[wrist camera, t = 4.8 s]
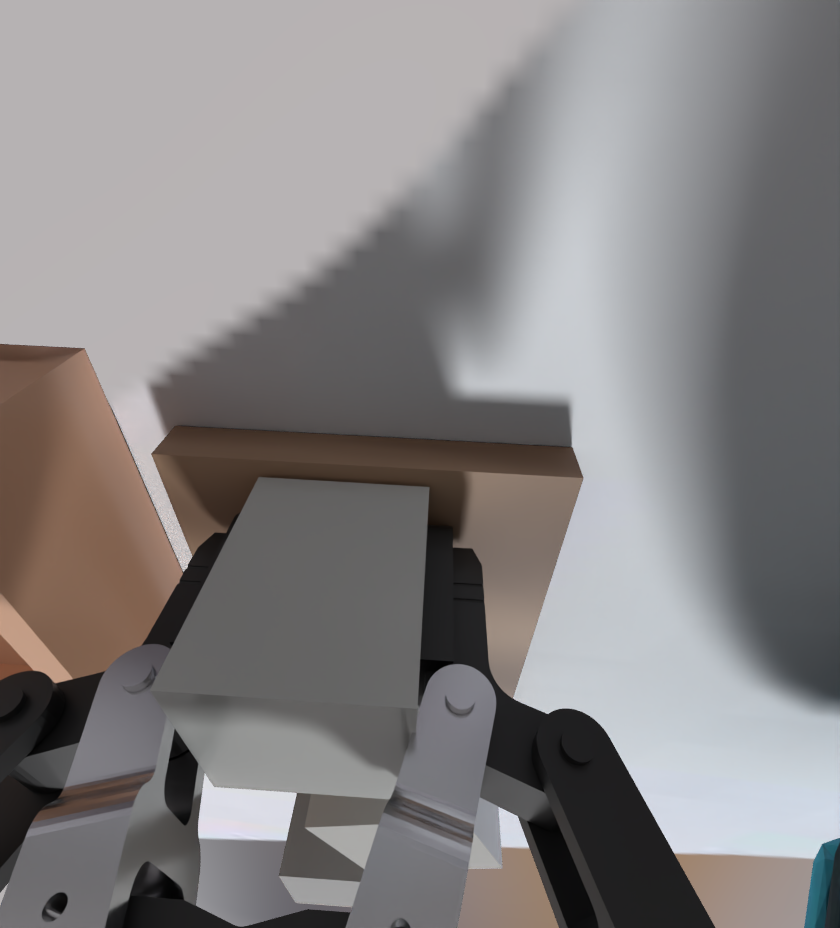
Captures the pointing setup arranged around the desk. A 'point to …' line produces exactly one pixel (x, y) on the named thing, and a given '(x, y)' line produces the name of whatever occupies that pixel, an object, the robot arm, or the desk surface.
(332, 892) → the stone
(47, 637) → the bin
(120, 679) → the robot arm
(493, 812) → the pale grey cube
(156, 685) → the stone
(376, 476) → the lid board
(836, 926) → the helmet
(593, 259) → the desk surface
